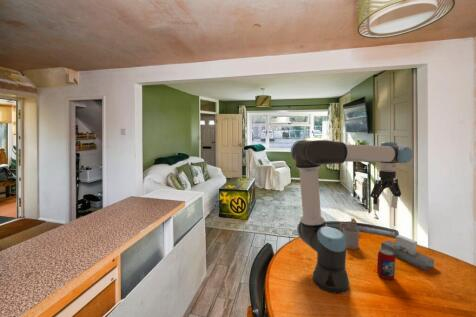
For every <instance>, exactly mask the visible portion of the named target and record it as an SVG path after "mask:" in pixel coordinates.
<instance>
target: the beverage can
mask: <svg viewBox="0 0 476 317" xmlns="http://www.w3.org/2000/svg"><path fill="white" fill-rule="evenodd" d="M376 261H377V262H376V263H377V264H376V266H377V267H376V268H377V269H376V274H377V275H378V276H379V277H381V279H382V278H383V279H385V280H393V279H395V273H396V272H395V271H396V256H395V255H394V253H393V252H392V251H391V250H388V249H381V248H380V249H379V251H378V252H377V260H376Z"/></svg>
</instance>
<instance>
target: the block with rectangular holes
mask: <svg viewBox="0 0 476 317" xmlns="http://www.w3.org/2000/svg"><path fill="white" fill-rule="evenodd" d="M395 247H396V241H395V242H394V241H392V240H387V241H381V243H380V249H388V250H391V251H392V252H393V253H394V255H395V258H398V259H401V260H403V261H404V262H407V263H409V264H411V265H413V266H415V267H417V268H419V269H421V270H423V271H427V270H429V269H432V268H435V267H434V266H435V259H434V258H432V257H429V256H427V255H424V254H422V253H420V252H416V256H413V255H410V254H408V251H409V249H407V248H404V247H403V249H402V250H399V249H397V248H395Z"/></svg>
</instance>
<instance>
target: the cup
mask: <svg viewBox="0 0 476 317" xmlns="http://www.w3.org/2000/svg"><path fill="white" fill-rule="evenodd" d="M343 234H344V235H345V237H346V245H347V246H346V249H352V250H354V249H358V248H359V239H360V238H359V237H360V230H359V229H358V228H357V229H356V228H354V227H344V228H343Z"/></svg>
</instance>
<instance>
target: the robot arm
mask: <svg viewBox="0 0 476 317" xmlns="http://www.w3.org/2000/svg"><path fill="white" fill-rule="evenodd" d="M290 156H291V158H292V159H293V160H294V161H295V168H296V169H297V170H298V171H299V183H300V195H301V208H302V217H301V218H299V220H300V221H299V223H298V225H297V228H296V229H297V230H296V232H297V236H298V237H299V238H300V239H301V241H302V242H303V243H305V244H306V245H308V247H309V248H311V249H312V250H313V251H315V252H316V254H317V255H316V256H317V258H316V265H315V267H314V270H313V272H312V281H313V283H314V285H315V286H317V287H318V288H319V289H321V290H322V291H325V292H328V293H331V294H343V293H347V291H349V289H350V278H349V277H348V273H347V269H346V261H347V247H346V246H347V245H346V237H345V235H344V234H343V233H342V232H341V231H339V228H338V229H337V228H333V227H332V226H331V227H330V226H326V225H325V224H326V221H325V218H324V217H323V216H322V214H321V213H322V212H321V200H320V199H321V197H320V182H319V171H318V170H319V169H320V167H321V166H324V165H340V164H344V163H345V162H348V163H350V162H353V163H356V162H357V163H358V162H360V163H361V162H362V163H379V166H378V167H379V170H378V177H379V178H380V179H375V183H374V186H373V188H372V190H371V193H370V194H369V196H370V197H371V198H372V203H373V204H372V209H373V210H374V211H380V196H381V194H382V193H383V192H384V190H386V189H389V191H390V192H391V194H392V195H391V202H390V203H391V204H390V206H391V207H390V208H393V209H397V208H398V202H399V200H398V199H399V197H401V195H402V192H401V188H400V185H399V179H397V177H396V176H397V172H396V171H397V163H398V164H408V163H410V162H411V161H412V160H413V156H414V152H413V149H412V148H410V147H408V146H398V143H397V142H396V141H383V142H381V143H380V145H371V144H370V145H369V144H368V145H367V144H350V143H348V144H347V143H345V142H343V141H336V140H329V139H324V138H323V139H322V138H301V139H298V140H296V141H294V142H293V145H292V146H291V148H290Z"/></svg>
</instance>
